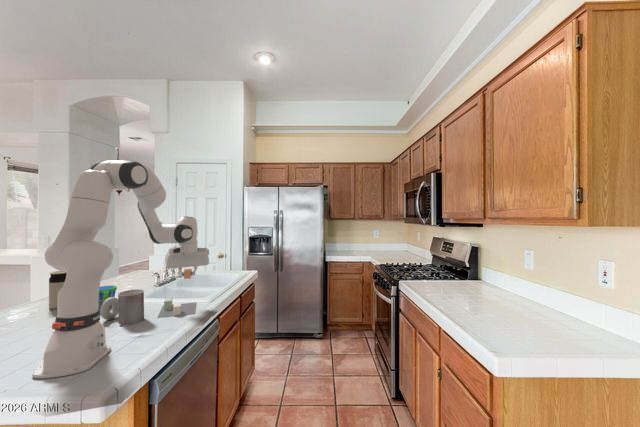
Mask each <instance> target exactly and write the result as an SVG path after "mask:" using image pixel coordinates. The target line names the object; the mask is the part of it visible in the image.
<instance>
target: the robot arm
mask: <svg viewBox="0 0 640 427" xmlns="http://www.w3.org/2000/svg"><path fill="white" fill-rule="evenodd" d="M129 189H130V190H132V192H133V193H134V195H135V196H136V198H137V208H138V211H139V214H140V216H141V218H142V220H143V222H144V224H145V226H146V228H147V231H148V234H149V235H148V236H149V239H150V240H151V241H152V242H153V244H157V245H162V244H178V245H175V246H172V247H169V248H168V254H167V255H166V258H165V268H166V269H178V271H179V273H180V277H184V271H182V270H183V268H190V267H191V268H192V267H193V268H194V269H192V272H191V275H192V276H196V272H197V270H198V267H201V266H202V267H203V266H208V265H209V264H210V258H209V257H210V256H209V255H210V249H208V248H207V247H198V239H197V238H198V233H199V232H198V222H197V221H198V220H197V219H196V218H195V217H193V216H187V215H185V216H184V215H183V216H180V217H179V220H178V221H177V222H174V223H165V222H163V221H160V219H159V216H158V214H157V213H156V209H157V208H158V209H159V207H161V206H162V205H163V204H164V202H165V201H166V198H167V192H166V190H165V187H164V186H163V184H162V182H161V181H160V179H159V177H158V175H156V173H155V172H154V171H153V170H152V169H151V168H150V167H149V166H148V165H146V164H142V163H141V162H138V161H135V160H119V159H112V160H101V161H97V162H95V163H92V165H90V167H89V169H88V170H84V171H82V172H80V173H79V175H78V177H77V179H76V181H75V184H74V185H73V188H72V192H71V196H70V201H69V205H68V208H67V213H66V216H65V220H64V223H63V224H62V227H61V229H60V231H59V232H58V234H57V236H56V238H55V240H54V241H53V242H52V243H51V244H50V245H49V246H48V247H47V248H46V250H45V252H44V259H45V262H46V263H47V264H48V265H49V266H50V267H52V268H53V269H55V270H56V271H66V272H67V275H66V279H65V282H64V285H63V287H62V288H61V289H60V290H59V292H58V295H57V309H56V311H57V313H56V314H57V315H56V316H55V320H54V322H53V323H52V324H51V329H52V330H54V331H53V332H52V333H51V336H50V338H49V341H48V343H47V345H46V347H45V350H44V352H43V357H42V359H41V360H40V361H39V364H38V365H37V367H36V368H35V370H34V372H33V373H32V378H33V379H51V378H58V377H65V376H70V375H74V374H79V373H82V372H85V371H88V370H90V368H92V367H93V366H94V365H95V364H97V363H98V362H99V361H100V360H101V359H102V358H104V357H105V356H106V355H107V354H108V353H109V352H111V350H112V347H111V346H110V345H107V341H106V338H107V337H106V336H107V335H106V328H105V327H106V326H104V325H103V324H101V322H100V320H101V313H100V309H98V305H99V287H101V286H100V285H101V282H102V279H103V275H104V273H105V272H106V271H107V269H109V267H110V266H111V265H112V262H113V259H114V254H113V251H112V249H111V248H110V247H109V246H108V245H106V244H103V243H102V242H99V241H96V240H95V238H96V236H97V234H99V231H100V230H101V229H103V227H105V225H106V222H107V218H108V213H109V208H110V207H109V206H110V203H111V195H112V192H113V190H129Z"/></svg>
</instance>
